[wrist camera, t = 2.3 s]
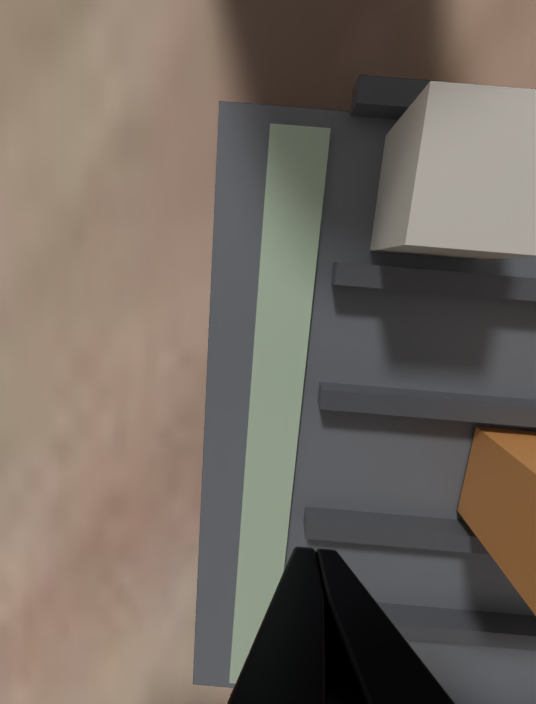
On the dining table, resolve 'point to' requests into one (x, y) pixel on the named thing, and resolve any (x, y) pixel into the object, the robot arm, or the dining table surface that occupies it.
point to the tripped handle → (504, 502)
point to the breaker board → (370, 365)
